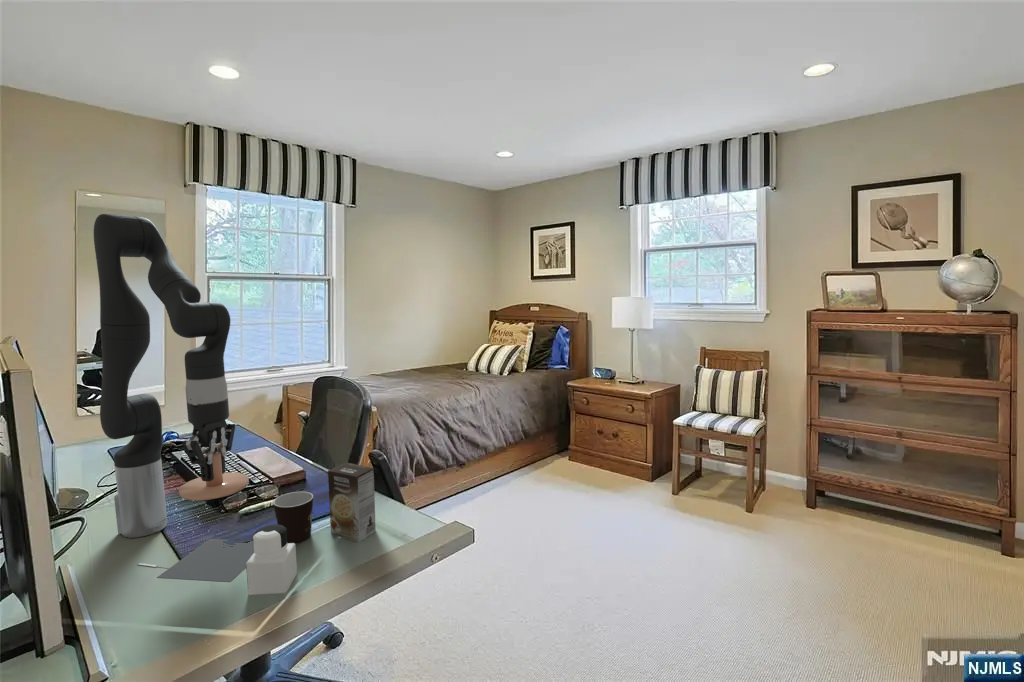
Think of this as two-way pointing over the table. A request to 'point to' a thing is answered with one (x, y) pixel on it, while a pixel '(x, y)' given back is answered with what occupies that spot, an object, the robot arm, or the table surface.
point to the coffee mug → (295, 515)
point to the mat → (212, 562)
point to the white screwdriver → (150, 565)
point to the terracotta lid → (214, 483)
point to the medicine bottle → (271, 561)
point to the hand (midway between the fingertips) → (213, 476)
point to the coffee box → (352, 501)
